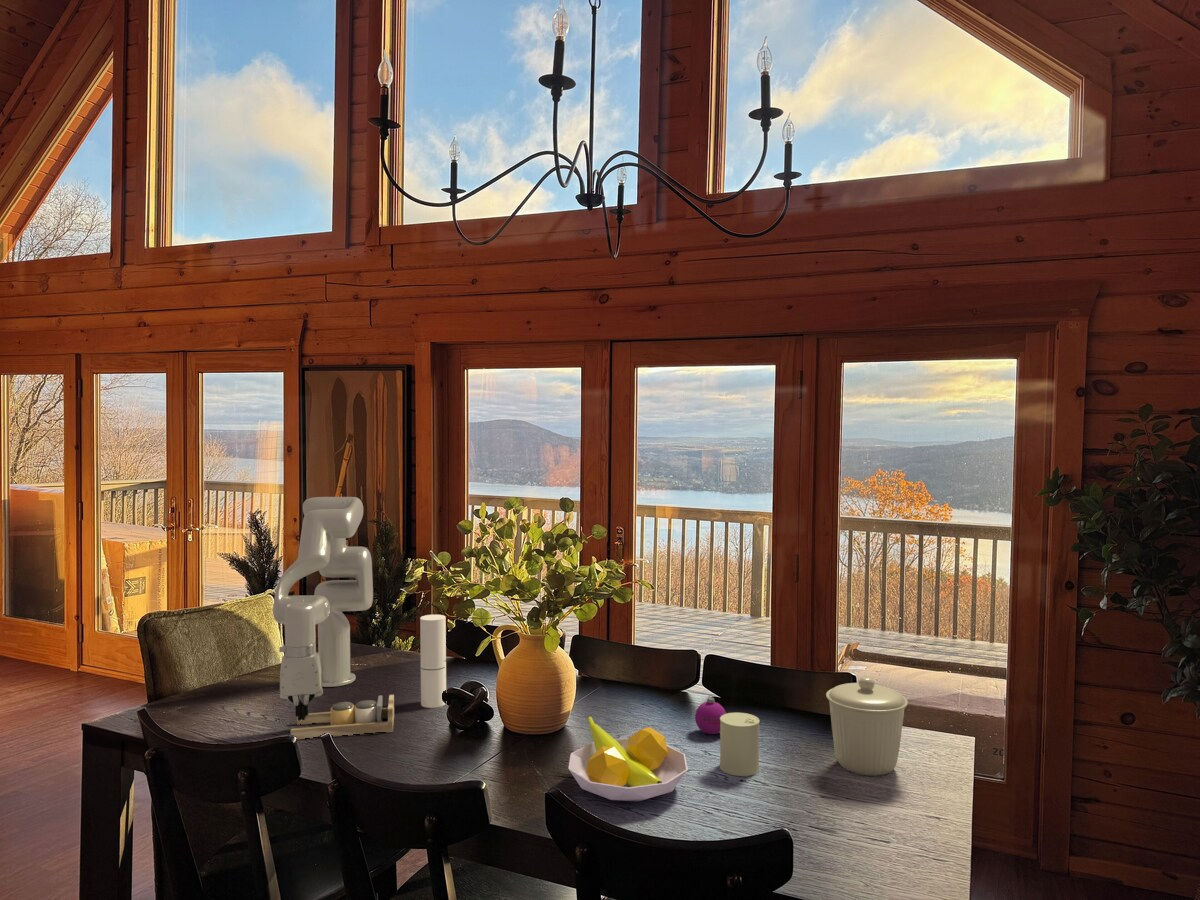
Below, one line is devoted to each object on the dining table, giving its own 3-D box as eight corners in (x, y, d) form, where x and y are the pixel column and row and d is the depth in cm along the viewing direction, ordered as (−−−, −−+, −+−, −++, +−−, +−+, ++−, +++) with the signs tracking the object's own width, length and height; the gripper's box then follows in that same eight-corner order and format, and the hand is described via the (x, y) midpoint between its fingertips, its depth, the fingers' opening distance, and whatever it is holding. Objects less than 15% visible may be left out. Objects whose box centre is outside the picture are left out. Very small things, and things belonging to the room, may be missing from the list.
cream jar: (354, 723, 220) (354, 701, 220) (377, 721, 222) (377, 698, 222) (354, 731, 214) (354, 708, 214) (378, 729, 216) (378, 705, 216)
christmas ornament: (701, 740, 208) (701, 701, 207) (690, 728, 216) (690, 691, 215) (731, 737, 210) (731, 698, 209) (719, 726, 218) (719, 689, 217)
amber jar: (334, 724, 220) (333, 701, 219) (356, 723, 220) (356, 701, 220) (328, 732, 214) (327, 709, 213) (351, 732, 214) (351, 708, 214)
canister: (817, 751, 201) (818, 666, 200) (892, 752, 200) (893, 666, 199) (836, 783, 183) (837, 689, 182) (918, 784, 182) (919, 690, 181)
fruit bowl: (708, 805, 172) (708, 751, 172) (584, 822, 165) (584, 767, 164) (661, 754, 199) (661, 708, 199) (552, 767, 192) (552, 719, 191)
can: (750, 779, 185) (750, 727, 184) (713, 770, 190) (713, 719, 189) (765, 765, 192) (765, 714, 192) (728, 757, 197) (729, 707, 197)
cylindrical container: (449, 699, 239) (448, 614, 238) (442, 708, 232) (441, 620, 231) (425, 699, 240) (424, 614, 239) (417, 707, 233) (416, 620, 232)
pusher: (378, 717, 223) (378, 695, 223) (382, 717, 223) (382, 695, 223) (377, 729, 215) (376, 706, 214) (381, 728, 215) (380, 706, 215)
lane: (297, 723, 220) (297, 701, 220) (394, 716, 226) (393, 694, 225) (290, 740, 208) (290, 716, 208) (392, 731, 214) (392, 709, 214)
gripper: (267, 656, 209) (269, 726, 210) (329, 652, 212) (330, 721, 213) (272, 647, 216) (274, 715, 218) (332, 644, 220) (333, 711, 221)
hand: (302, 718), depth 215 cm, fingers closed
